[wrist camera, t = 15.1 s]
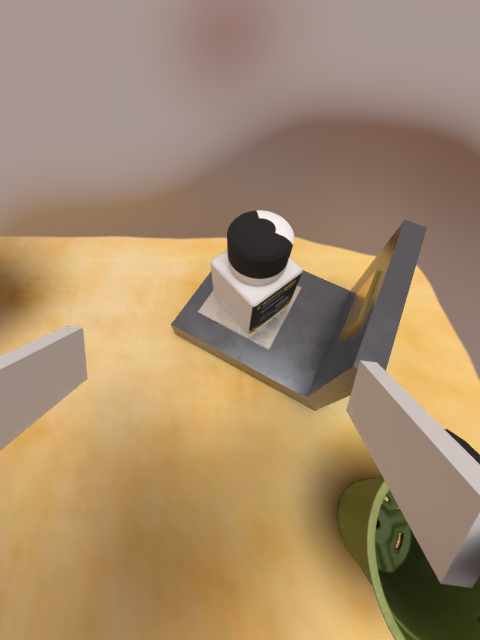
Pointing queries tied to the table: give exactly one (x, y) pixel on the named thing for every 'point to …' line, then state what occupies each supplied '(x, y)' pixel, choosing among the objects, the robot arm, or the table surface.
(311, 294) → the bookend
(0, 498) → the table surface
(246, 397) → the table surface
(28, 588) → the table surface
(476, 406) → the table surface
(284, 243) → the medicine bottle
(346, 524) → the plant pot
